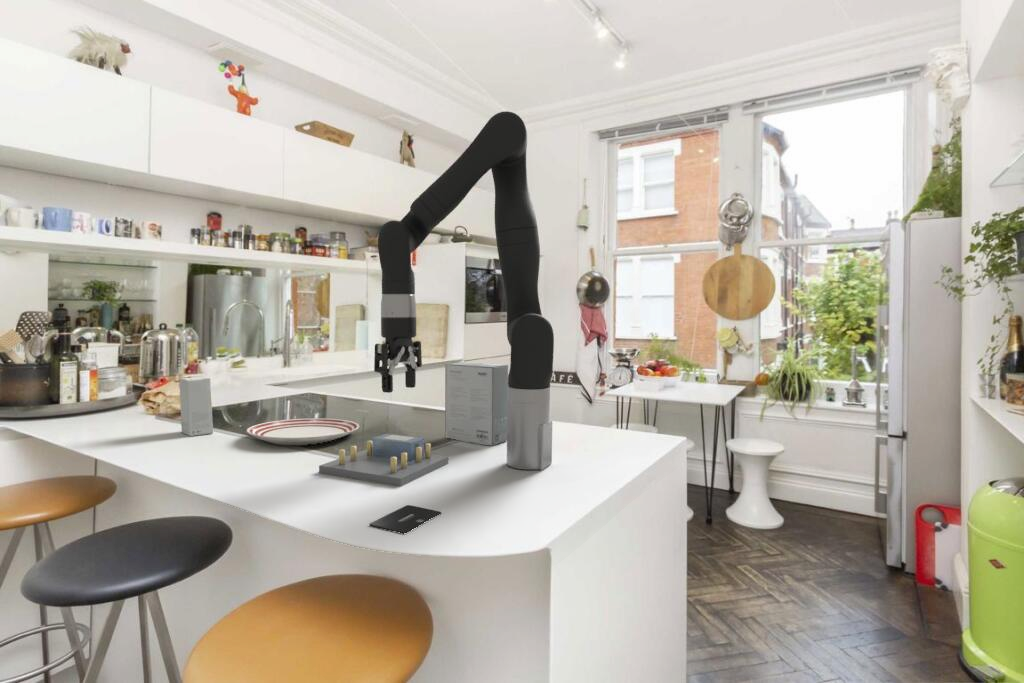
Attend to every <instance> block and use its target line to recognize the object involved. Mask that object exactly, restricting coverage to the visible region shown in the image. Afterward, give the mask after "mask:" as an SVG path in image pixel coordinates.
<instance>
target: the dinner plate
mask: <svg viewBox="0 0 1024 683" xmlns="http://www.w3.org/2000/svg"><path fill="white" fill-rule="evenodd" d="M359 428H360V425H359V424H358V423H357V422H355V421H351V420H345V419H337V418H294V419H291V418H290V419H281V420H272V421H268V422H263V423H259V424H255V425H251V426H249V427H248V428H247V429H246V433H247V434H248V435H249V436H251V437H253V438H255V439H258V440H261V441H265V442H268V443H270V444H274V445H279V446H307V445H308V444H311V445H317V443H320V444H324V443H323V442H326V443H328V442H327V441H330V442H332V441H331V440H334V439H337V438H339V439H340V438H343V437H345V436H347V435H350V434H351V433H353V432H355V431H356V430H358V429H359ZM337 440H338V439H337ZM334 441H335V440H334ZM308 446H309V445H308Z"/></svg>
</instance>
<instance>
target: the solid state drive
mask: <svg viewBox="0 0 1024 683" xmlns="http://www.w3.org/2000/svg"><path fill="white" fill-rule="evenodd" d="M439 514H440V515H442V512H441V511H439V510H434V509H430V508H425V507H420V506H416V505H411V504H407V505H405V506H402V507H400V508H398V509H397V510H394V511H392V512H391V513H390V512H389V513H388V514H386V515H384V516H382V517H380V518H378V519H376V520H374V521H372V522H370V523H369V525H370V526H374V527H373V528H375V527H377V528H376V529H380V528H382V529H381V530H384V529H386V530H385V531H388V530H391V531H390V532H392V531H396V532H400V533H403V534H402V535H405V534H404V533H407V532H409V531H410V532H412V531H413V530H412V529H414V528H416V527H417V528H419V527H420V526H419V525H421V524H423V523H424V522H426V521H428V520H429V519H431V518H433V517H435V516H437V515H439ZM440 515H439V516H440ZM437 517H438V516H437ZM435 518H436V517H435ZM433 519H434V518H433ZM431 520H432V519H431ZM428 522H429V521H428ZM426 523H427V522H426ZM424 524H425V523H424ZM424 524H423V525H424ZM370 526H369V527H370ZM418 526H419V527H418ZM421 526H422V525H421ZM417 528H416V529H417ZM411 530H412V531H411ZM414 530H415V529H414ZM396 532H395V533H396ZM410 532H409V533H410ZM400 533H399V534H400ZM407 534H408V533H407Z"/></svg>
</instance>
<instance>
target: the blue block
mask: <svg viewBox="0 0 1024 683" xmlns="http://www.w3.org/2000/svg"><path fill="white" fill-rule="evenodd" d="M372 447H373V456H376V457H383V458H390V459H391V457H397V460H401V453H407V461H414V460H416V447H422V457H423V456H424V453H425V438H424V437H416V436H410V435H401V434H392V433H384V434H381V435H378V436H377V435H376V436H374V437H372Z"/></svg>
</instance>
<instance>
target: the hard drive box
mask: <svg viewBox="0 0 1024 683" xmlns="http://www.w3.org/2000/svg"><path fill="white" fill-rule="evenodd" d="M444 365H445V366H444V367H445V368H444V369H445V371H444V372H445V373H444V374H445V377H444V378H445V379H444V380H445V385H444V386H445V387H444V388H445V394H444V395H445V397H444V398H445V401H444V403H445V404H444V406H445V409H444V411H445V416H444V419H445V420H444V427H445V428H444V429H445V430H444V433H445V434H444V437H446V438H445V439H447V438H452V439H451V440H453V439H457V440H456V441H458V440H459V441H461V442H467V443H472V444H477V445H483V446H485V445H486V446H495V445H498V444H501V443H504V442H507V418H508V375H509V365H508V364H495V363H482V362H481V363H477V362H454V363H445V364H444Z"/></svg>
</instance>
